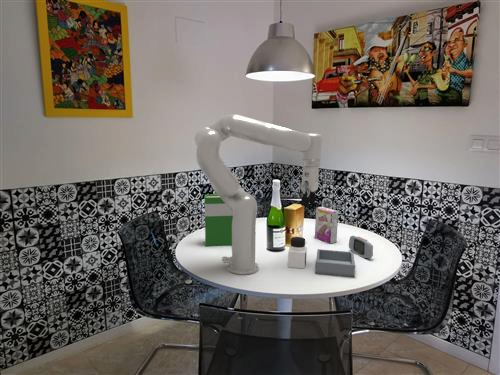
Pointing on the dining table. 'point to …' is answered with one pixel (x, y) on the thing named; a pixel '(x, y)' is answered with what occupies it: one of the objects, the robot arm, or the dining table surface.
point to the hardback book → (217, 222)
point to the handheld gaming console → (361, 247)
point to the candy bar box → (326, 225)
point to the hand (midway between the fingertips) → (308, 203)
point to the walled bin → (335, 263)
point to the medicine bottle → (297, 253)
